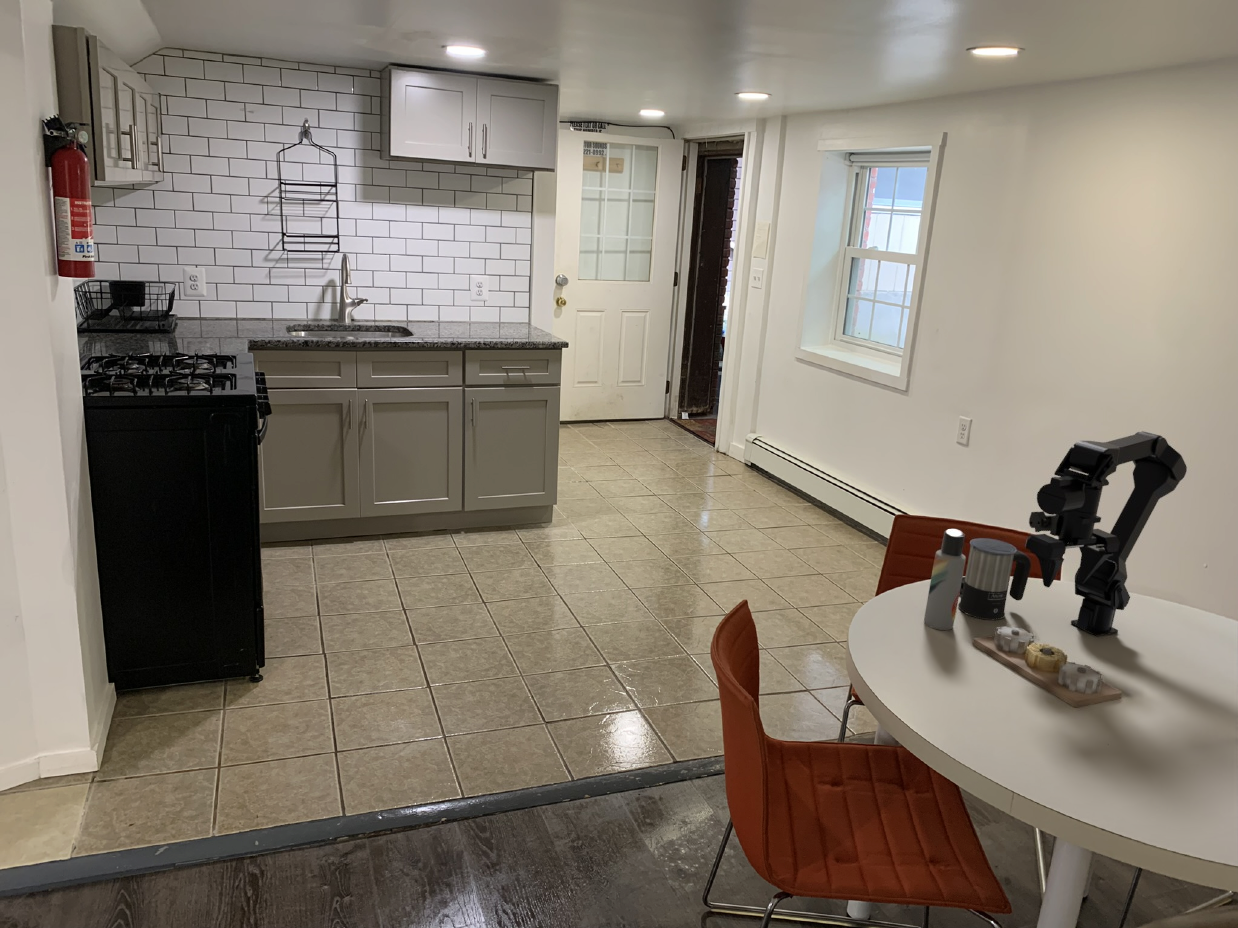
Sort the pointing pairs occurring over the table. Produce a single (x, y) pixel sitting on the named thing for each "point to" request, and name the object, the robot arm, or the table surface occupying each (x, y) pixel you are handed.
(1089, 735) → the table surface
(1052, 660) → the brass gear
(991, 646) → the gear board
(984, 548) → the milk frother
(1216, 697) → the table surface
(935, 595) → the lotion bottle
